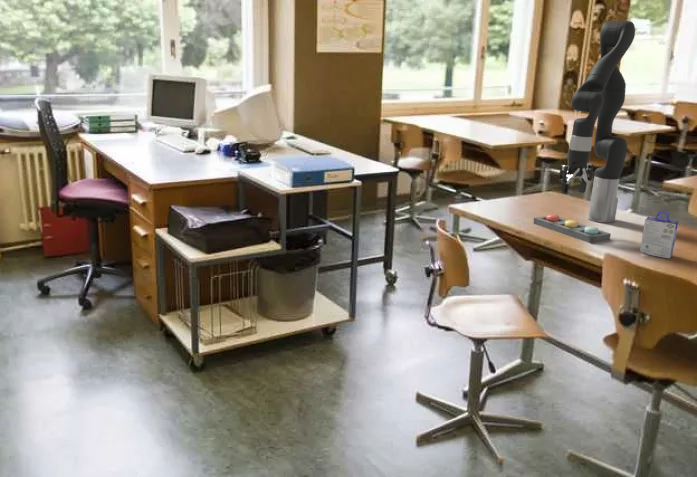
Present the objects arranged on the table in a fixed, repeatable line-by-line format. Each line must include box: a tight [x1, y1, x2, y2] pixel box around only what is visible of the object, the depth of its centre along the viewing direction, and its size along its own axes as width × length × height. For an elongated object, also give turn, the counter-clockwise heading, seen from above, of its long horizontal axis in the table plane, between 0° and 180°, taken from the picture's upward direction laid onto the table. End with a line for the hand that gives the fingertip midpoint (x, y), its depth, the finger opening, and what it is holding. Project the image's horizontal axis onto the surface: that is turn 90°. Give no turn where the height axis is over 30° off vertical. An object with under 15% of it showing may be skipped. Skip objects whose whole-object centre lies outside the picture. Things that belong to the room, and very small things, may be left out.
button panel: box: [533, 215, 612, 244], centre depth 252 cm, size 27×10×3 cm, turn 32°
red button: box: [545, 213, 560, 222], centre depth 259 cm, size 5×5×2 cm
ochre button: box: [565, 219, 579, 229], centre depth 252 cm, size 5×5×2 cm
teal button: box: [584, 225, 599, 235], centre depth 244 cm, size 5×5×2 cm
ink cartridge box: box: [639, 211, 679, 259], centre depth 230 cm, size 10×6×14 cm, turn 58°
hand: (573, 192), depth 249 cm, fingers open, 8 cm apart
